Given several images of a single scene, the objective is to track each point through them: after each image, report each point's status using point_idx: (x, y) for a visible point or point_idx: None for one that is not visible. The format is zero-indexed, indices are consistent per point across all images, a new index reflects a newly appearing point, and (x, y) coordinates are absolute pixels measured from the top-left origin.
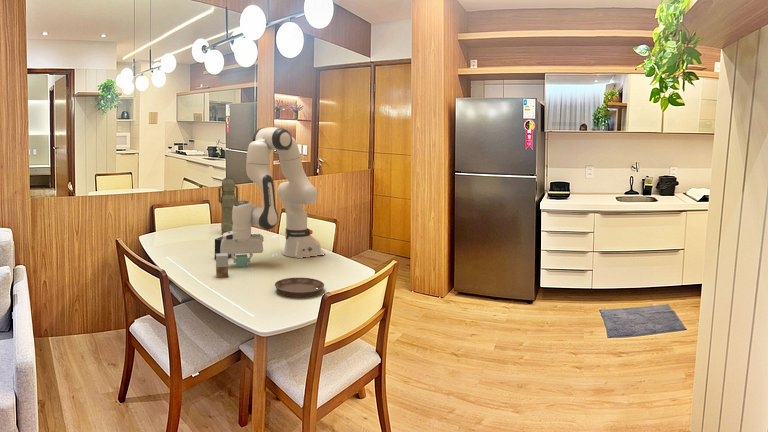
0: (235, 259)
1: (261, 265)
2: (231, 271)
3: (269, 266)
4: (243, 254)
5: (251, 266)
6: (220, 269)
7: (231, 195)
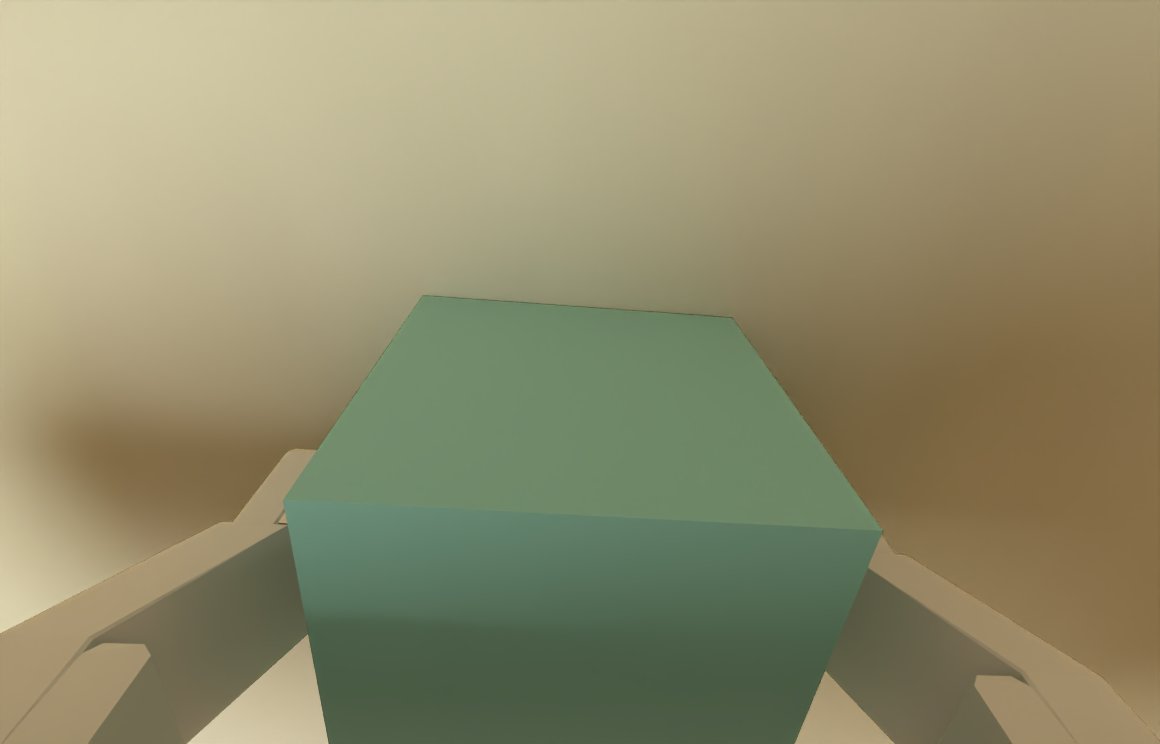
0: None
1: (1021, 520)
2: (320, 737)
3: (1122, 618)
4: (701, 530)
5: None
6: None
7: None
